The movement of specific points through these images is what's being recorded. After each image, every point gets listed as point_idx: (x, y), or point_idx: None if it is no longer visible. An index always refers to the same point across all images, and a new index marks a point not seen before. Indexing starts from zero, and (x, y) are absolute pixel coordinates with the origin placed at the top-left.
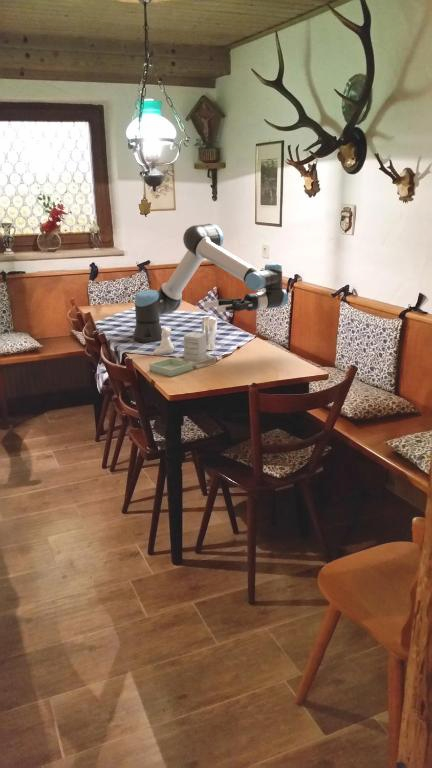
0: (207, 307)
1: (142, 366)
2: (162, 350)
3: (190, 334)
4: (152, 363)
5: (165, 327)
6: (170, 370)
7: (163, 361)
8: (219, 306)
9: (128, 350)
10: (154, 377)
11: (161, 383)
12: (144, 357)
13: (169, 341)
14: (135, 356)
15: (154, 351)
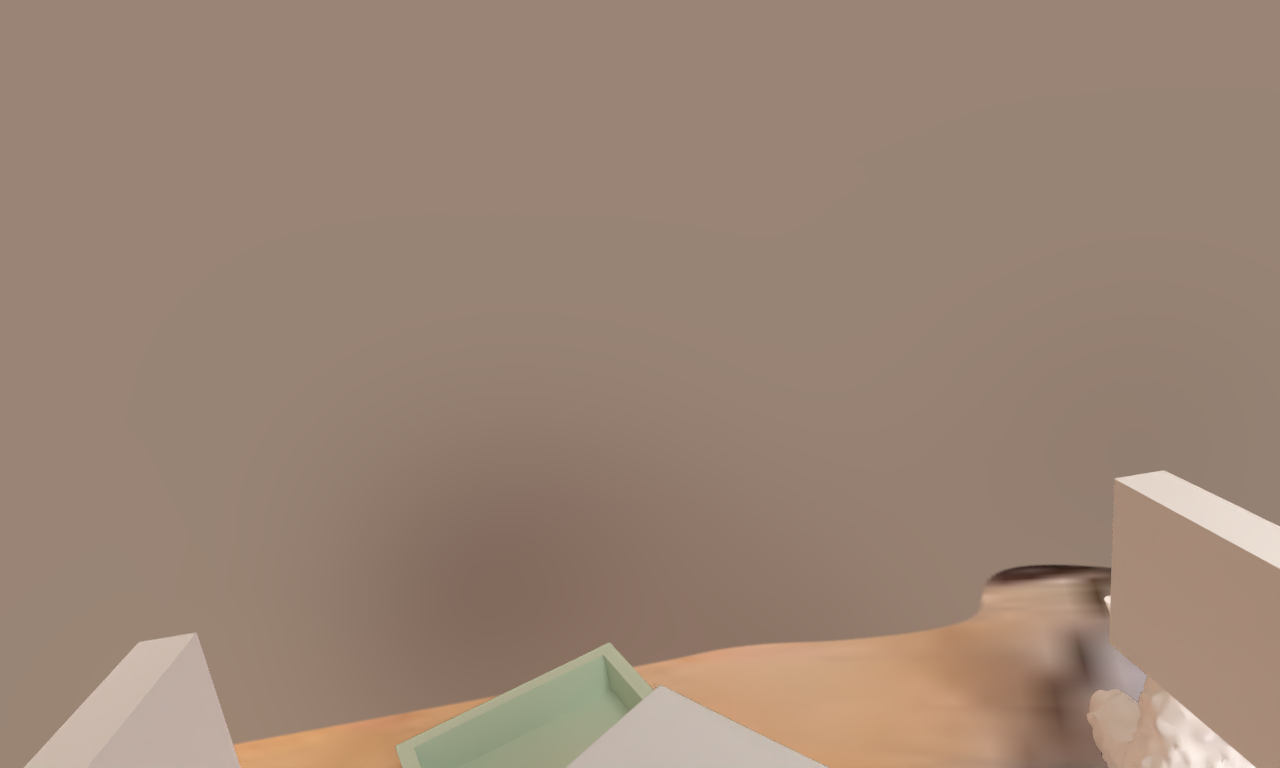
0: (1161, 669)
1: (737, 653)
2: (1112, 749)
3: (695, 748)
4: (612, 657)
5: None
6: (397, 750)
7: None
8: (121, 675)
9: None
10: (470, 706)
11: (333, 735)
12: (984, 662)
13: (1185, 738)
14: (1010, 617)
15: (1091, 698)
